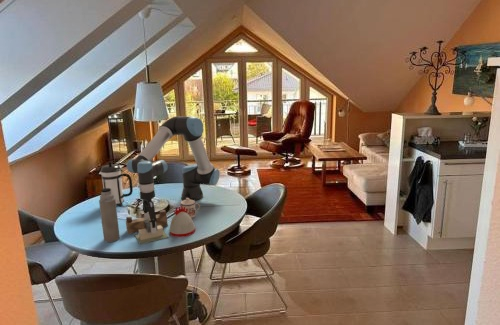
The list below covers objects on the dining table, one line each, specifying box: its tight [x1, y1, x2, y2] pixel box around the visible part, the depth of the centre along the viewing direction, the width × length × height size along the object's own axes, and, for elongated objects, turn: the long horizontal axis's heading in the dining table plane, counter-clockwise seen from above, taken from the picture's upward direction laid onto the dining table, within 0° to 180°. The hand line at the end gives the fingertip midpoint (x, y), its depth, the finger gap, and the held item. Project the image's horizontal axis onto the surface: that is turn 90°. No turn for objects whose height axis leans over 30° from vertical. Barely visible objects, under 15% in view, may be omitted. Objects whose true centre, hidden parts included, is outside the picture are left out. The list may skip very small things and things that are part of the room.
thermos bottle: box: [98, 188, 121, 243], centre depth 196 cm, size 8×8×28 cm
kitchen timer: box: [169, 205, 196, 238], centre depth 205 cm, size 14×14×15 cm
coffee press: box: [98, 161, 134, 207], centre depth 250 cm, size 17×16×30 cm
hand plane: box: [125, 209, 169, 235], centre depth 211 cm, size 22×5×8 cm, turn 119°
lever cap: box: [144, 218, 157, 233], centre depth 199 cm, size 5×8×6 cm, turn 29°
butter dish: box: [134, 225, 169, 245], centre depth 200 cm, size 15×12×5 cm
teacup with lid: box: [180, 198, 201, 219], centre depth 228 cm, size 12×9×12 cm
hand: (150, 228), depth 200 cm, fingers open, 13 cm apart
